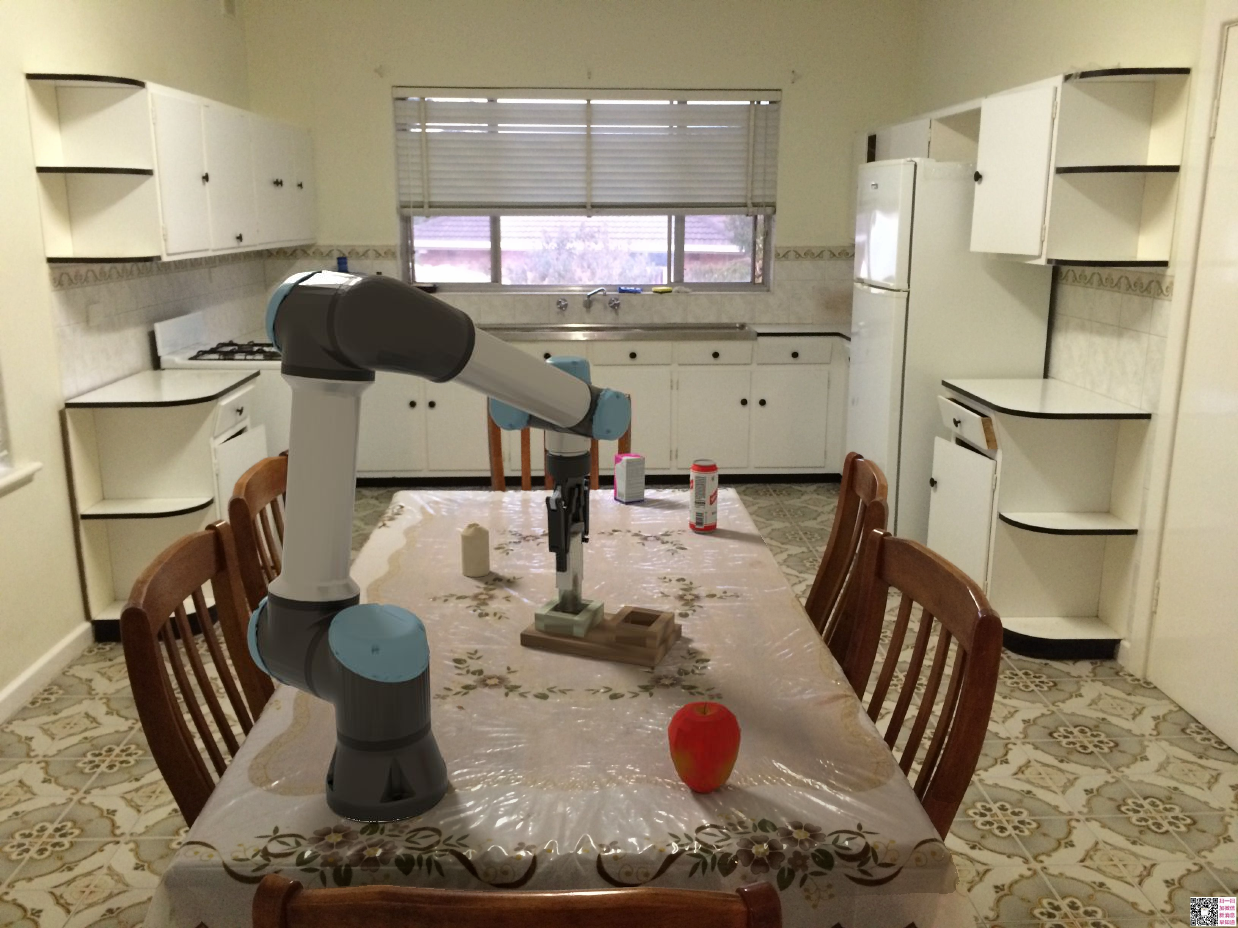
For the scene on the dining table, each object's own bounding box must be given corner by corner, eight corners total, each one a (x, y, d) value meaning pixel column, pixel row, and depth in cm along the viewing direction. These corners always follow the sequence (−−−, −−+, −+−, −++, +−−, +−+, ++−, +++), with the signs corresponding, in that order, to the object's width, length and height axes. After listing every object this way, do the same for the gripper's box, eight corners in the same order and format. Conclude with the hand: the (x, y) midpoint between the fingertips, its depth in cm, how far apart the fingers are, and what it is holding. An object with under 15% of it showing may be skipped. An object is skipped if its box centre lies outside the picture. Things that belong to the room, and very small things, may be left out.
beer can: (686, 532, 239) (687, 464, 235) (692, 524, 245) (694, 457, 241) (713, 535, 237) (715, 466, 233) (719, 527, 243) (721, 459, 239)
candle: (492, 575, 212) (491, 527, 209) (465, 578, 210) (464, 530, 207) (485, 566, 217) (484, 519, 214) (459, 569, 215) (457, 522, 212)
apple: (735, 767, 141) (738, 684, 138) (742, 805, 132) (745, 717, 129) (665, 766, 141) (667, 683, 138) (667, 804, 132) (669, 716, 129)
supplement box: (645, 501, 264) (645, 456, 261) (624, 504, 261) (625, 459, 258) (633, 495, 268) (633, 451, 266) (613, 499, 266) (613, 454, 263)
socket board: (653, 667, 171) (654, 638, 169) (520, 644, 179) (519, 616, 178) (681, 635, 183) (682, 608, 182) (555, 614, 192) (555, 588, 191)
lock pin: (577, 614, 179) (576, 528, 175) (550, 610, 181) (549, 525, 177) (589, 604, 184) (588, 520, 180) (563, 600, 185) (562, 517, 182)
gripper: (567, 464, 166) (569, 604, 172) (609, 441, 182) (609, 570, 188) (524, 460, 169) (527, 597, 175) (569, 438, 184) (570, 565, 190)
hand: (569, 583), depth 181 cm, fingers closed on lock pin, 4 cm apart
